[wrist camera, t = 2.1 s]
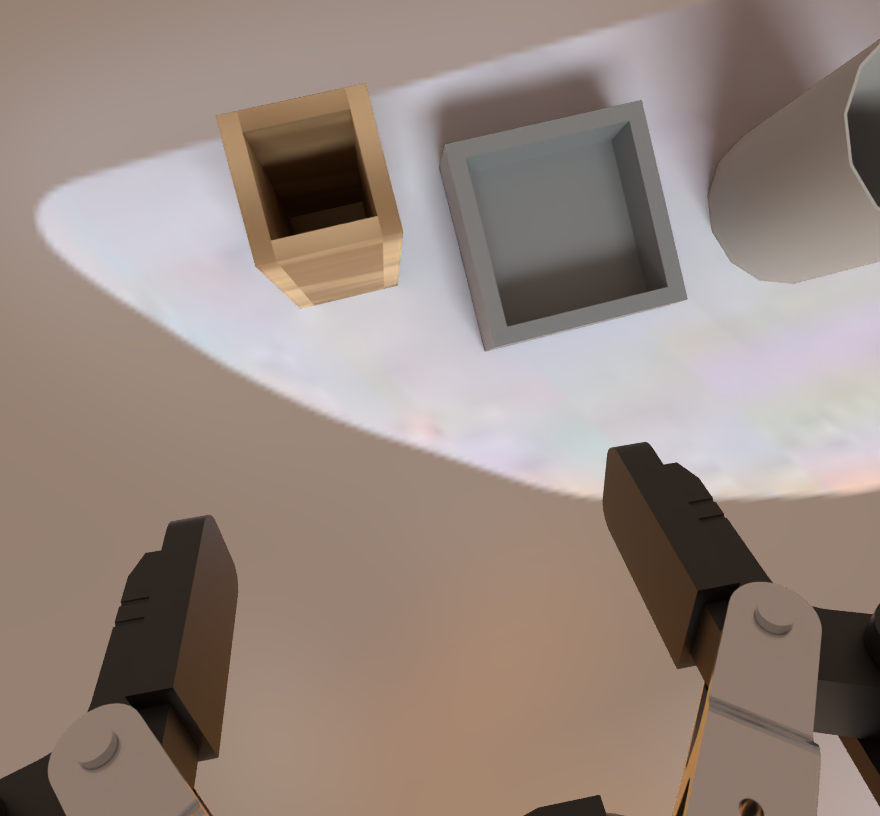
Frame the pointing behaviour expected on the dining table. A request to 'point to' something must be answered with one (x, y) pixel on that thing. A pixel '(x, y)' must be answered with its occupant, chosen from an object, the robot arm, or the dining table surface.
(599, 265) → the tray
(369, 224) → the oak crate
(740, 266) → the cup
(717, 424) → the dining table surface
